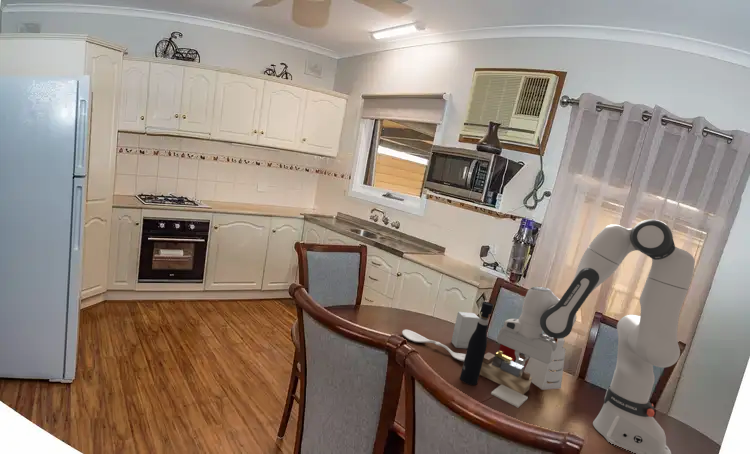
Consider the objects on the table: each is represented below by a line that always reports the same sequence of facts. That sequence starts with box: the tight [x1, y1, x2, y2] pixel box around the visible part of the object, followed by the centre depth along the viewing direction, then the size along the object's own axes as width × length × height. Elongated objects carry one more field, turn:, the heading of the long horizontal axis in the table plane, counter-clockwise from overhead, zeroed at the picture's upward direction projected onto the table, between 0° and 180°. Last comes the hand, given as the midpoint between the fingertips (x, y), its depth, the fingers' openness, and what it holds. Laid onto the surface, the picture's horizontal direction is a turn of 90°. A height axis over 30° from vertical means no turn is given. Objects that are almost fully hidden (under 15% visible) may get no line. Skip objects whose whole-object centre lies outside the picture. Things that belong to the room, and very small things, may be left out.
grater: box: [523, 331, 567, 391], centre depth 170 cm, size 10×10×20 cm
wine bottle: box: [459, 301, 494, 386], centre depth 158 cm, size 6×6×30 cm
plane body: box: [479, 351, 532, 395], centre depth 164 cm, size 18×7×8 cm, turn 52°
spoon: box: [401, 329, 466, 363], centre depth 182 cm, size 9×32×4 cm, turn 57°
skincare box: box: [450, 311, 480, 350], centre depth 190 cm, size 8×6×15 cm
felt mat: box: [490, 384, 529, 408], centre depth 154 cm, size 10×10×1 cm
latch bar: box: [494, 350, 512, 362], centre depth 165 cm, size 6×2×2 cm, turn 52°
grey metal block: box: [500, 360, 525, 377], centre depth 163 cm, size 7×4×3 cm, turn 52°
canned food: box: [498, 343, 516, 362], centre depth 180 cm, size 8×8×11 cm
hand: (519, 363), depth 161 cm, fingers closed
